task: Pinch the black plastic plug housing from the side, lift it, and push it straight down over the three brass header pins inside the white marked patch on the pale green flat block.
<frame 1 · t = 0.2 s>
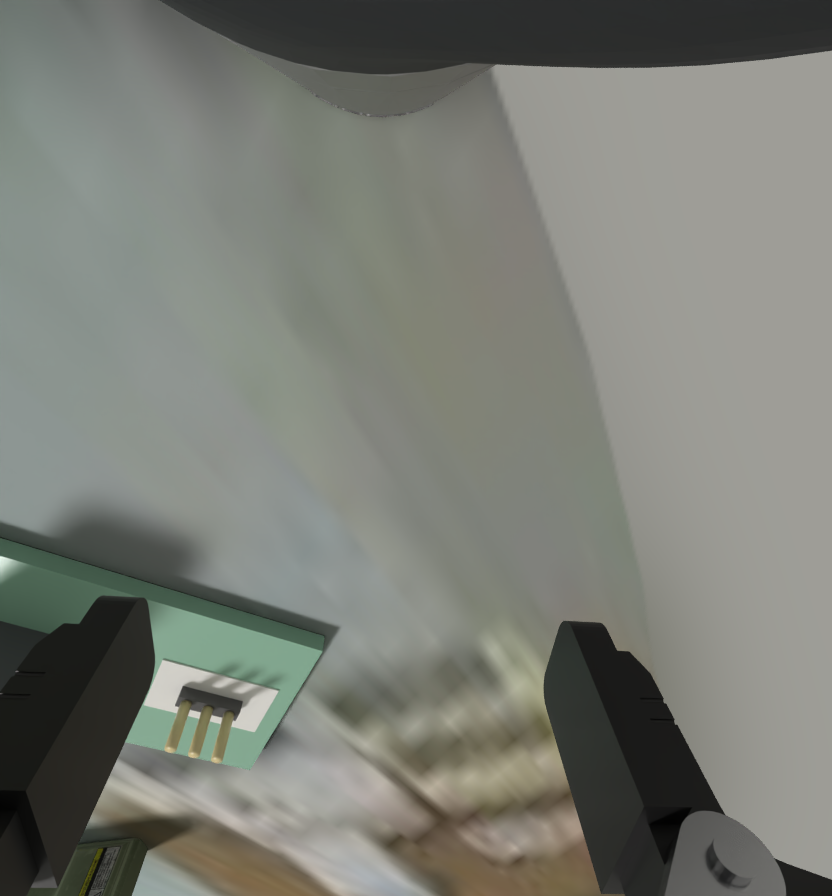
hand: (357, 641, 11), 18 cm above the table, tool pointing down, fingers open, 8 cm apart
pale green flat block: (125, 657, 36), on the table
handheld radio: (3, 853, 48), on the table
plug housing: (15, 646, 33), point 1 cm above the table, touching pale green flat block
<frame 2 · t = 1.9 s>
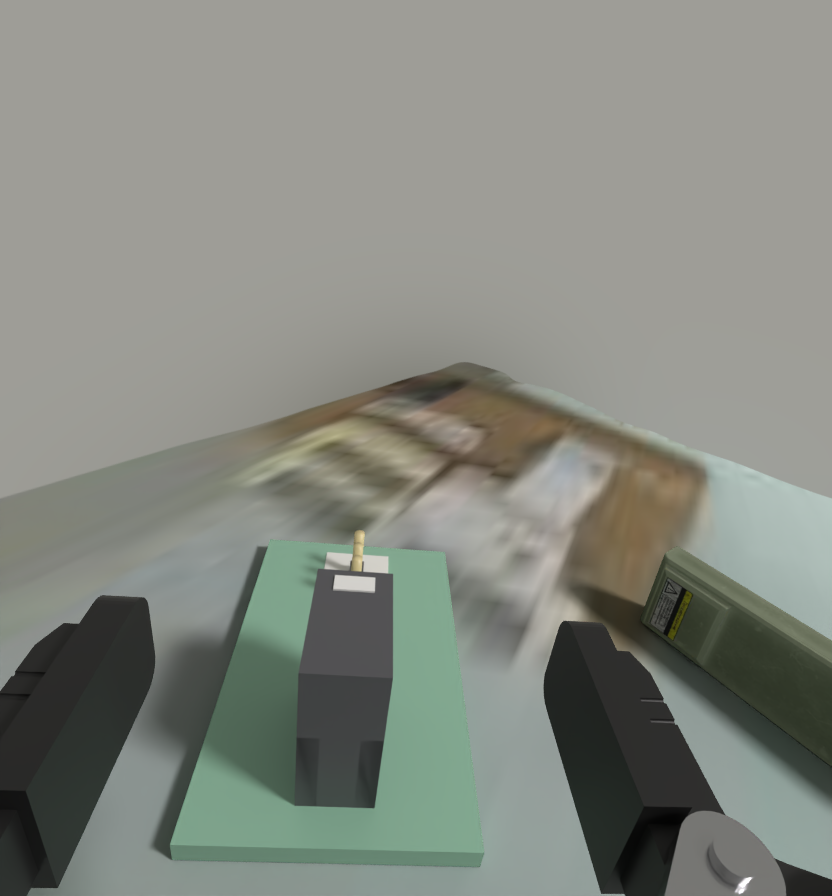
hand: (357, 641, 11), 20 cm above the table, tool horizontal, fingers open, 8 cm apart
pale green flat block: (347, 667, 35), on the table
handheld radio: (816, 748, 34), on the table
plug housing: (340, 744, 29), point 1 cm above the table, touching pale green flat block
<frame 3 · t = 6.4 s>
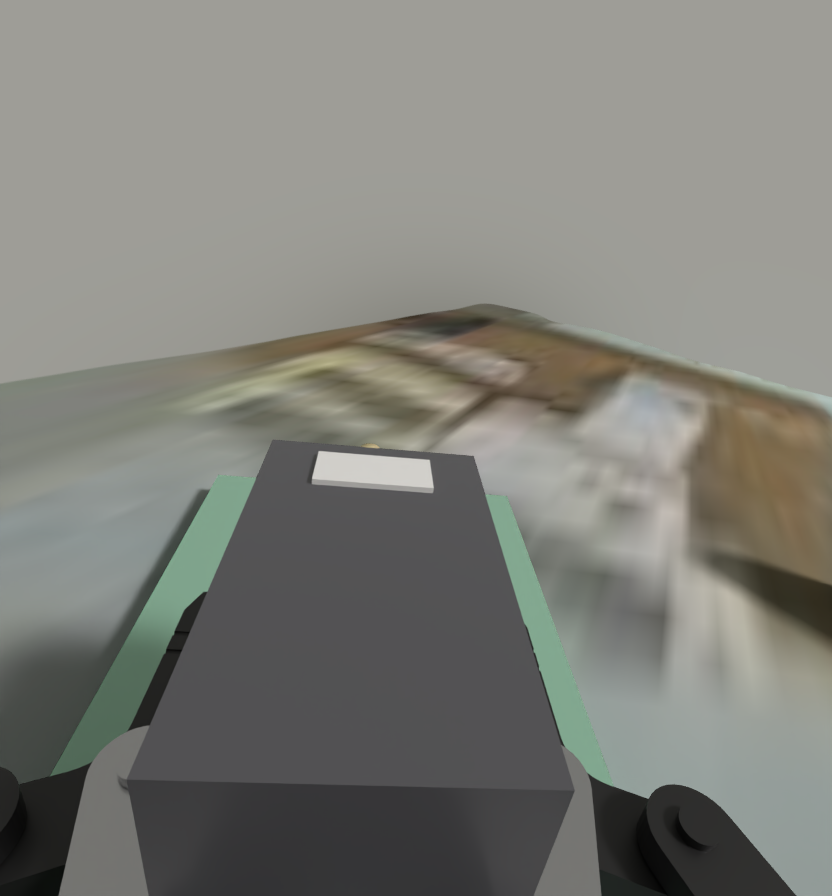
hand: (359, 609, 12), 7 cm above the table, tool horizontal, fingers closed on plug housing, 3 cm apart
pale green flat block: (351, 695, 17), on the table
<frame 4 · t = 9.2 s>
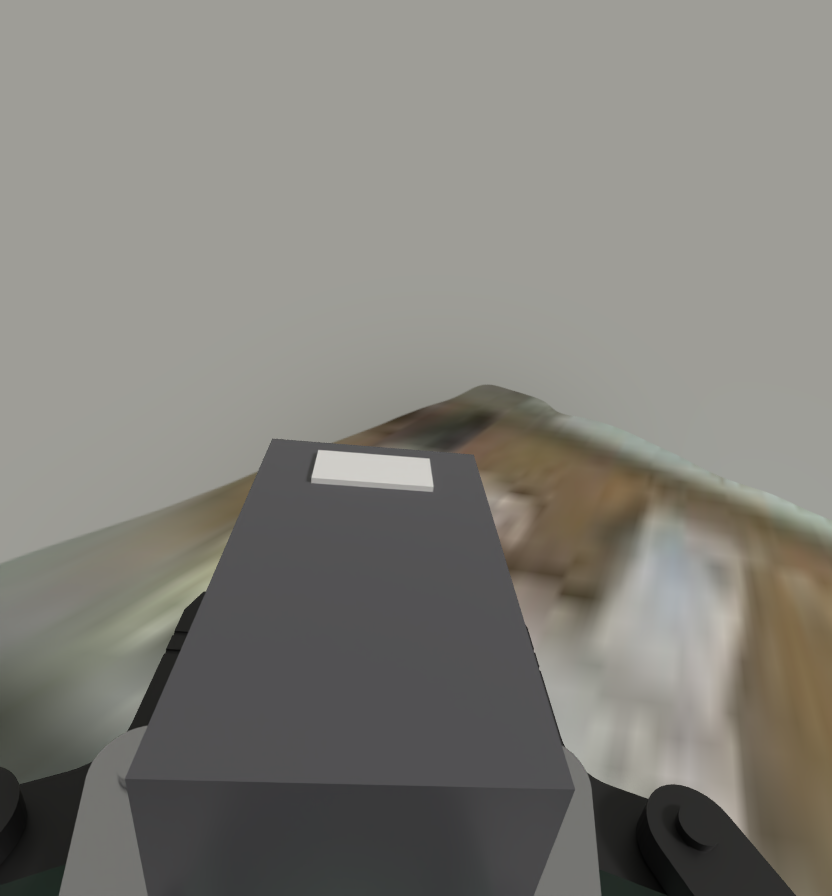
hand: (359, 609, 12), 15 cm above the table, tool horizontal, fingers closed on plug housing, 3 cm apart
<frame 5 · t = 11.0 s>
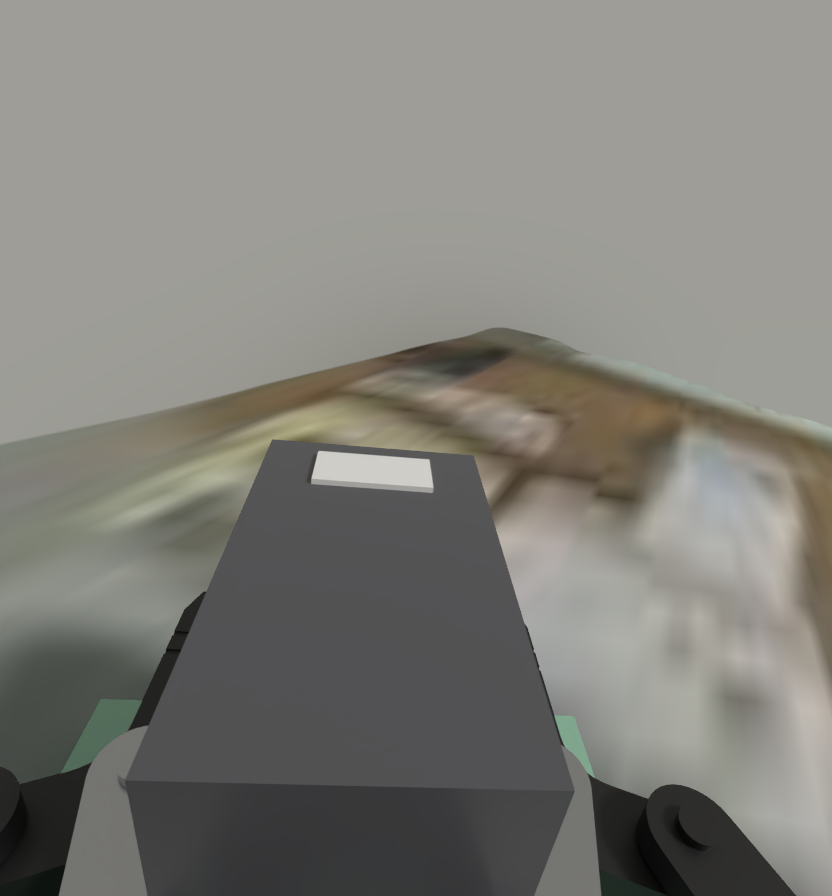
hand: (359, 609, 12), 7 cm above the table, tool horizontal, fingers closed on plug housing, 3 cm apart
when the fingers open (7 cm above the table, at t = 11.5 s): plug housing stays where it is, resting on pale green flat block.
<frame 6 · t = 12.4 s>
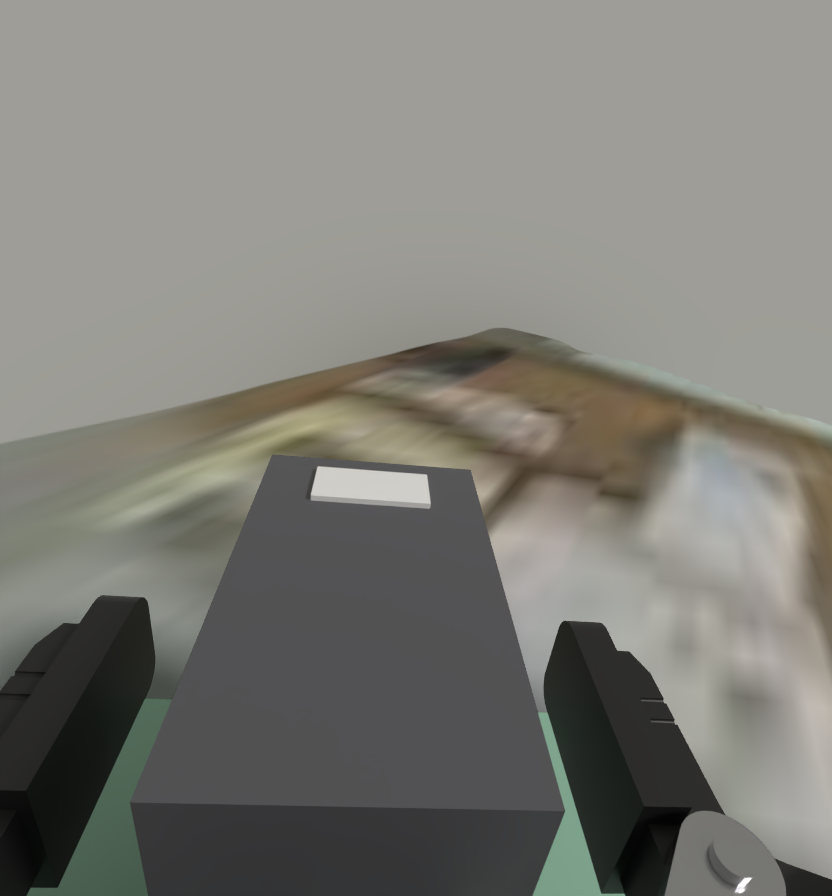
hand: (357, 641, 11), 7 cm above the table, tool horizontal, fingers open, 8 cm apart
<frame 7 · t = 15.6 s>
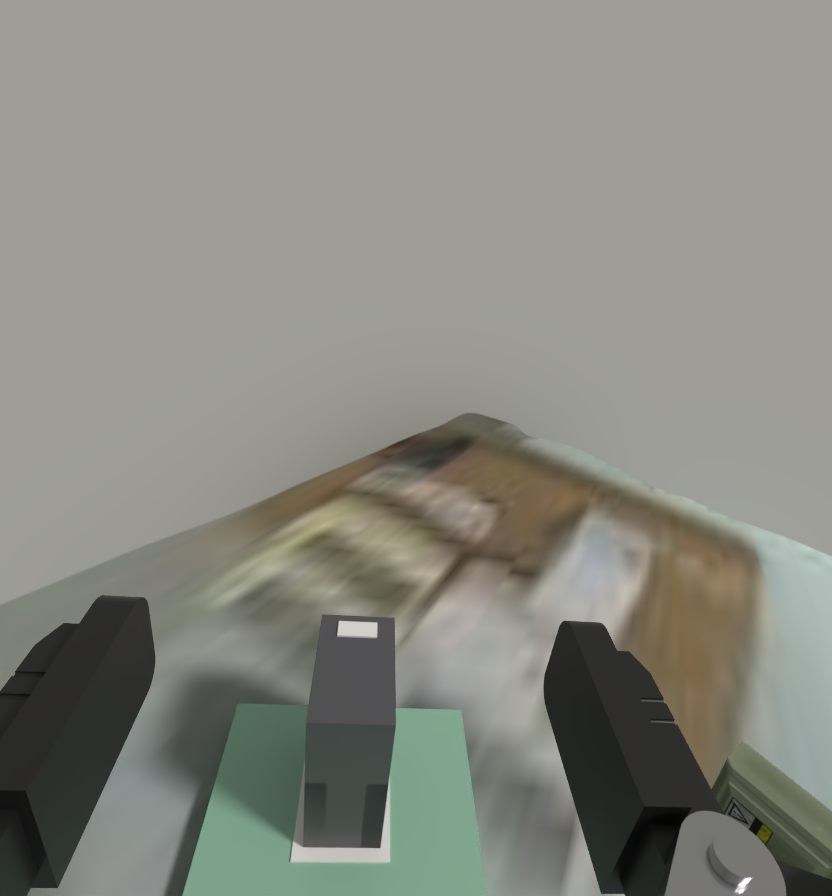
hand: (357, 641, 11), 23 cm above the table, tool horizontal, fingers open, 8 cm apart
plug housing: (346, 783, 30), point 1 cm above the table, touching pale green flat block
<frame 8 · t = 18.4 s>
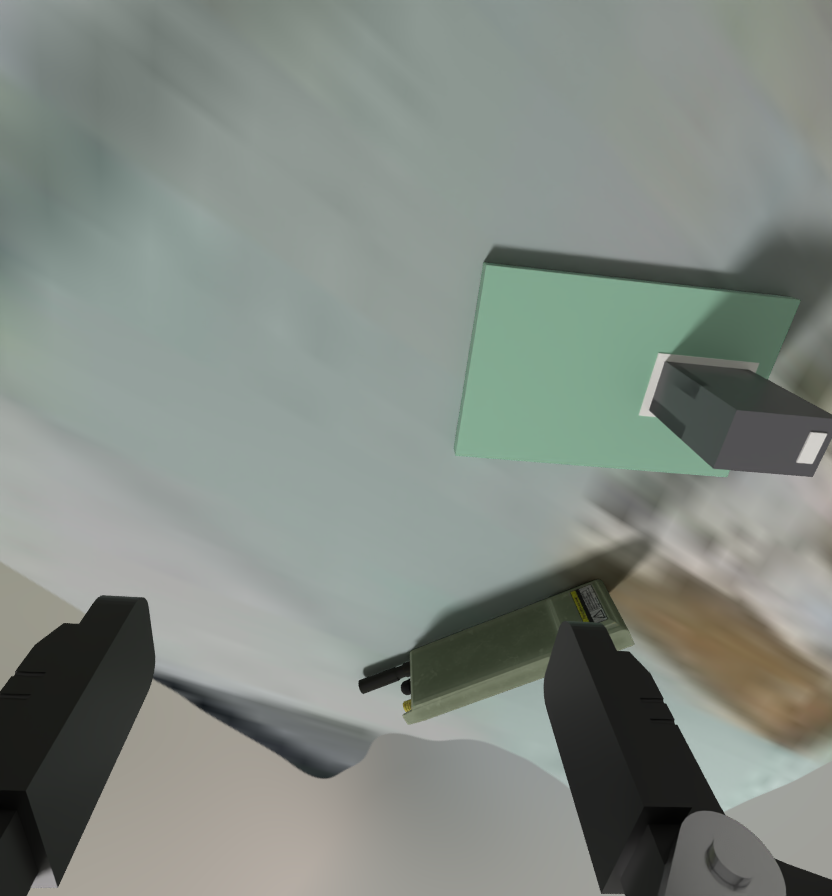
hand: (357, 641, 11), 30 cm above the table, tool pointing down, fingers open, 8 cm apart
pale green flat block: (612, 376, 41), on the table
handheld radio: (477, 630, 52), on the table
plug housing: (698, 390, 40), point 1 cm above the table, touching pale green flat block
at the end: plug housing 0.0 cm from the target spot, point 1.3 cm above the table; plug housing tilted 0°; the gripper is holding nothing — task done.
